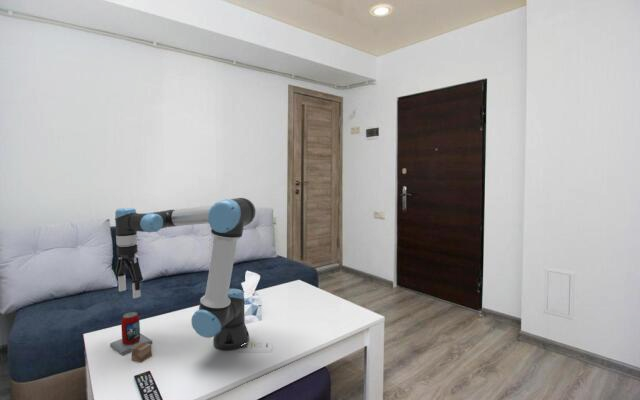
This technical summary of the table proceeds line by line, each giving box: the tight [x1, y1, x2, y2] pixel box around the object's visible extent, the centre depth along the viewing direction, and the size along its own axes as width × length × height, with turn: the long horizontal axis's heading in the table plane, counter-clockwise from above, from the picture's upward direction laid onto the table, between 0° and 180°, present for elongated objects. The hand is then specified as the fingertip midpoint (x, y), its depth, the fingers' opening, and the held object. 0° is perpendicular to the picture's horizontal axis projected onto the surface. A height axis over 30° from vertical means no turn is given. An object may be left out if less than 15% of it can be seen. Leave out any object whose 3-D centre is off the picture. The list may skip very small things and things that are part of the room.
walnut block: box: [130, 342, 153, 363], centre depth 133 cm, size 5×5×5 cm
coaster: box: [109, 332, 153, 356], centre depth 143 cm, size 12×12×2 cm
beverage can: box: [120, 311, 141, 344], centre depth 143 cm, size 7×7×12 cm
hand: (129, 293), depth 142 cm, fingers open, 13 cm apart
